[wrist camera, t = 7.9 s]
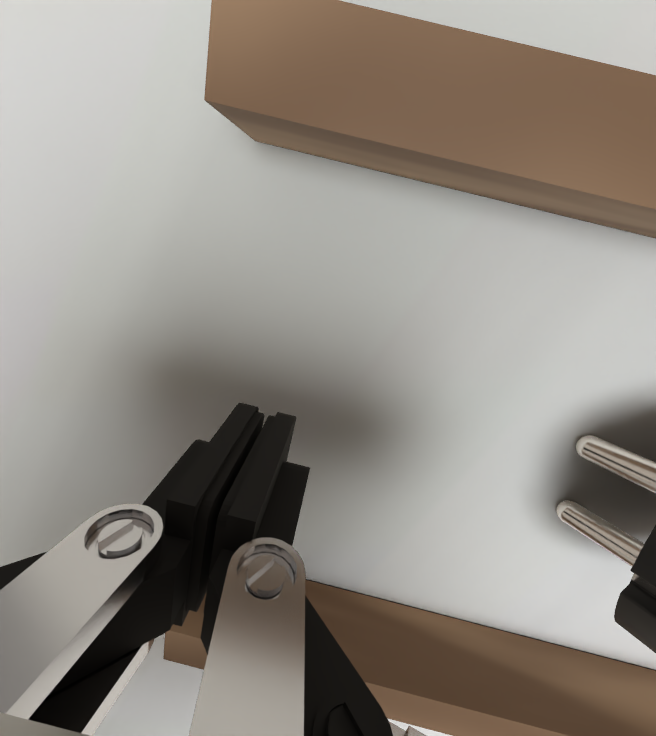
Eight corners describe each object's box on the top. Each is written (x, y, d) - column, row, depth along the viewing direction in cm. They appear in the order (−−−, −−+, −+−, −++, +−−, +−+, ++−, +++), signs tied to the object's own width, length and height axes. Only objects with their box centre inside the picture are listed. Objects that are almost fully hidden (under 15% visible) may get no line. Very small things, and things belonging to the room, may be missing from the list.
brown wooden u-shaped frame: (791, 734, 15) (889, 850, 12) (200, 580, 15) (163, 658, 12) (1380, 325, 8) (1928, 376, 5) (265, 58, 8) (214, -30, 5)
